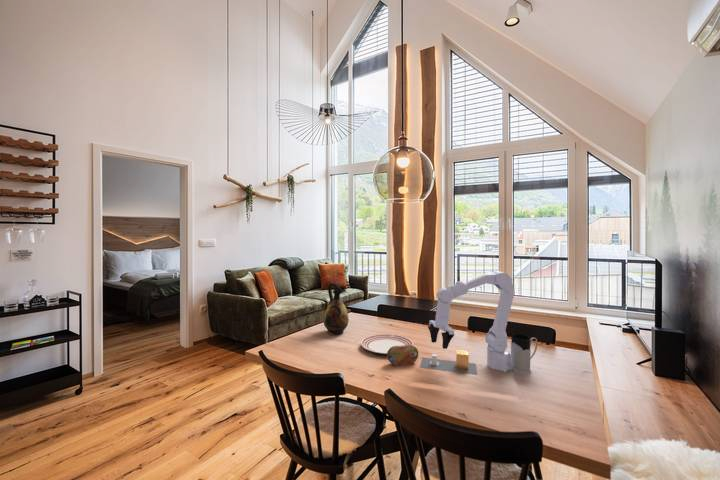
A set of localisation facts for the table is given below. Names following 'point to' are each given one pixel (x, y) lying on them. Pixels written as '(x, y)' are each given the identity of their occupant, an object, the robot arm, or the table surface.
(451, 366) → the mat
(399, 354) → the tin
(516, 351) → the grey mug
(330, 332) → the ceramic jug
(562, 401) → the table surface
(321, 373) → the table surface
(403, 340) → the dinner plate
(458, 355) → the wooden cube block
